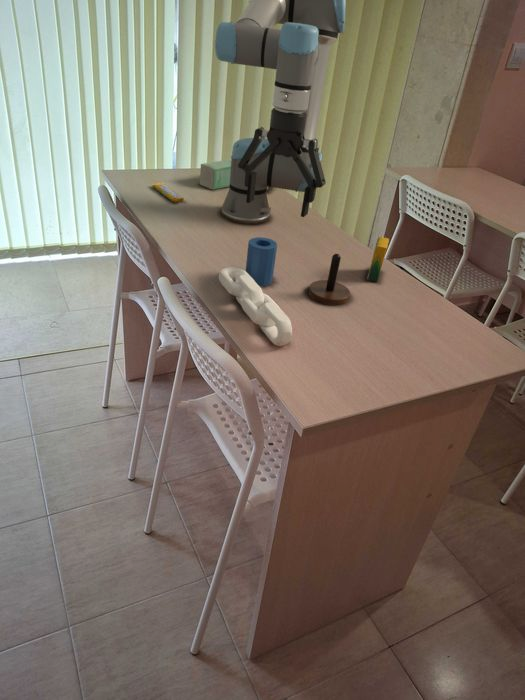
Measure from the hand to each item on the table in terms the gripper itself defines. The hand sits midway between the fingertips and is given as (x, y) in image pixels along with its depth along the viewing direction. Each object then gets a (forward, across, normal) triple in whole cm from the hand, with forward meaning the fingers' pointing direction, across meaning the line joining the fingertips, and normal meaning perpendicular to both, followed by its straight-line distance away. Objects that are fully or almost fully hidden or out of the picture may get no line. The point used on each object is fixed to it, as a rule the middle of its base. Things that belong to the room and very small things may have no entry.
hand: (276, 208), depth 124 cm
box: (+19, -44, +60) cm, 77 cm away
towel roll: (+19, -2, 0) cm, 19 cm away
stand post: (+18, +16, +3) cm, 24 cm away
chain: (+19, +3, -16) cm, 25 cm away
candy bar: (+19, -52, +38) cm, 68 cm away
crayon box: (+19, +23, +21) cm, 36 cm away
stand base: (+19, +16, +3) cm, 25 cm away
